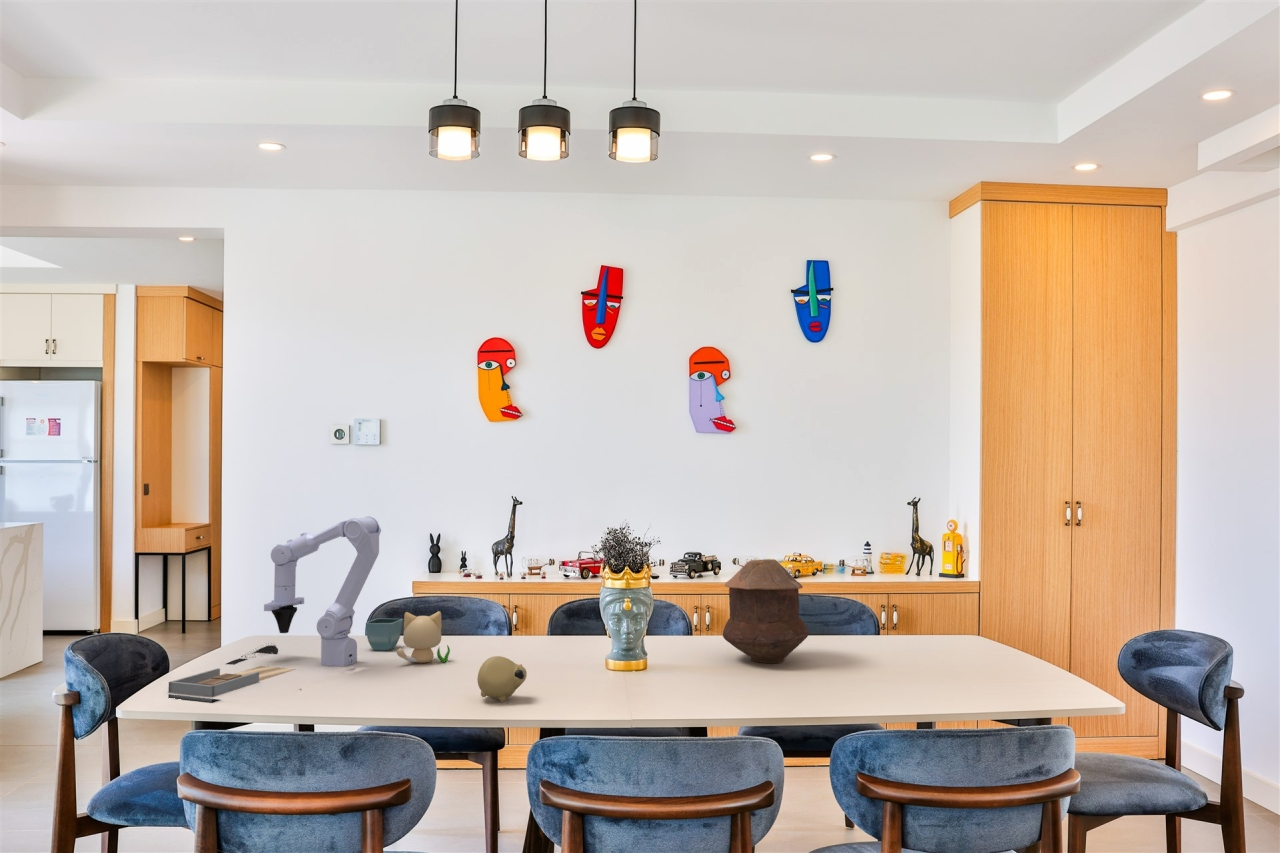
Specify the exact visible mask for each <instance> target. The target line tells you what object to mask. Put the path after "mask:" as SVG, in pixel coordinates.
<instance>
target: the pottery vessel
mask: <svg viewBox="0 0 1280 853" xmlns="http://www.w3.org/2000/svg"><path fill="white" fill-rule="evenodd" d="M724 587H726V588H729V589H728V597H729V598H728V599H729V600H728V601H729V603H728V604H729V605H728V606H729V618H728V619H727V621H726V623H725V625H724V627H723V630H722V637H723V639H724V640H725V641H726V642H727V643H729V644H730V645H732V646H733V647H735V649H737V650H739V652H742V653H743V654H745V656H747V657H749V658H750V659H751V661H753V662H755V663H762V664H781V663H783V662H784V661H785V659H786V658H787V656H788V655H789V654H790V653H792V652H793V651H794V650H795V649H797V648H798V646H800V645H801V644H802V643H803V642H804V641H805V640H806V639H807V638H808V636H809V635H810V631H809V628H808V626H807V625H806V623H805V622H804V621H803V620H802V618H801V617H800V615H799V614H800V598H799V597H800V596H799V595H800V594H799V589H803V588H804V587H803V585H802V584H801V583H800V582H799V581H798V580H797V579H795V577H793V575H792V574H790V572H789V571H788V570H787V569H786V568H785V567H784V566H783V565H782V564H780V562H778V561H777V560H776V559H770V558H767V559H755V560H754V559H752V560H749V561H747V562H746V564H744V565H743V566H742V567H741V568H740V569H739V570H738V571H737V572H736V573H735V574H734V575H733V576H731V578H730V579H729V580H728V581H726V582H725V583H724Z"/></svg>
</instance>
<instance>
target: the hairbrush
mask: <svg viewBox="0 0 1280 853" xmlns="http://www.w3.org/2000/svg"><path fill="white" fill-rule="evenodd" d="M265 644H266V645H265V646H264V645H261V647H260V648H255V650H254V649H252V650H253V652H247V653H246V654H245V653H244V655H240V657H241V658H237V659H233V660H231V661H229V662H226V663H225V665H233V666H235V665H237V664H239V663H241V662H244V661H247V660H249V659H250V658H255V656H256V654H258V656H261V657H263V656H264V655H278V654H279V648H278V647H277V645H276V644H275V643H273V642H270V645H269V642H268V643H267V642H266V643H265ZM250 655H253V656H250ZM243 657H244V658H243Z"/></svg>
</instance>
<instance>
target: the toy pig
mask: <svg viewBox="0 0 1280 853" xmlns="http://www.w3.org/2000/svg"><path fill="white" fill-rule="evenodd" d="M476 679H477V680H476V681H477V685H478V688H479V689H480V696H481V697H482V698H486V697H489V698H492V699H496V700H499V701H500V703H504V702H505V701H506V700H507V698H509V697H511V696H512V695H513V694H514V693H515V692H516V690H517V689H518V688H519V687H520V686H521V685H523V683H524V682H525V681H526V679H527V669H526V668H525V667H524V666H523V664H521V663H520V664H517V663H516V662H514V661H512V660H511V659H509V658H507V657H505V656H500V655H496V656H491V657H488V658H487V659H485V661H484V662H482V664H481V666H480V667H479V669H478V673H477V678H476Z"/></svg>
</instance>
